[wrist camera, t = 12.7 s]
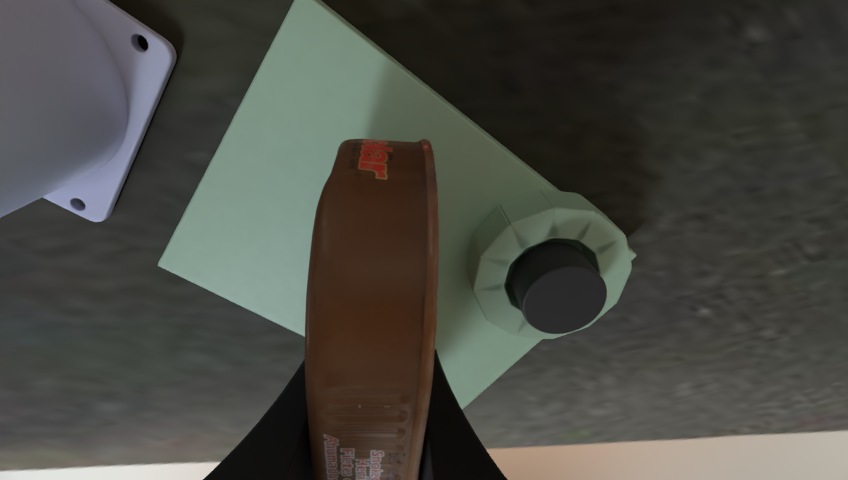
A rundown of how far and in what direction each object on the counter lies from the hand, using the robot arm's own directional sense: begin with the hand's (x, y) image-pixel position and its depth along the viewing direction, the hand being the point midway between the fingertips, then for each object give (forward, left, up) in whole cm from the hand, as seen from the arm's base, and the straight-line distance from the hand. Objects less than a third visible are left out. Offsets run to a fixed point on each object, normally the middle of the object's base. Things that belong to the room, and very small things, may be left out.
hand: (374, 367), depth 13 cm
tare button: (+5, +5, -3) cm, 8 cm away
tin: (0, 0, -5) cm, 5 cm away
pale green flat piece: (0, +1, -6) cm, 6 cm away
